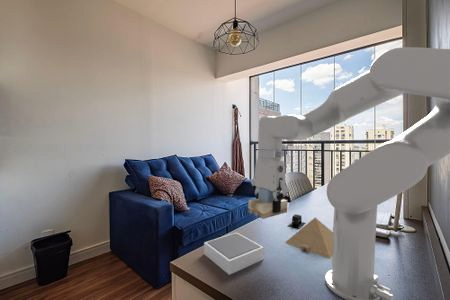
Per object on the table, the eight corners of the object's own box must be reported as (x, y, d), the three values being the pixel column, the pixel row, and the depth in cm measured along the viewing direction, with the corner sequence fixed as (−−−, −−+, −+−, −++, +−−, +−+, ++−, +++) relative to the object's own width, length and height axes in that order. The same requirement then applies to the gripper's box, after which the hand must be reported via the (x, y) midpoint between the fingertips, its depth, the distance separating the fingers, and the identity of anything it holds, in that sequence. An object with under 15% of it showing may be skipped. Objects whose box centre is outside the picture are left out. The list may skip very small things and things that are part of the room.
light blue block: (278, 200, 72) (278, 188, 72) (267, 203, 69) (267, 190, 69) (269, 197, 75) (269, 186, 75) (258, 200, 72) (258, 188, 72)
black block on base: (299, 232, 93) (299, 221, 93) (283, 227, 98) (283, 217, 98) (309, 223, 103) (309, 214, 103) (293, 220, 107) (294, 210, 107)
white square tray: (263, 259, 71) (263, 246, 71) (229, 274, 63) (229, 260, 63) (236, 242, 83) (236, 231, 82) (204, 254, 74) (204, 241, 74)
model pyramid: (282, 244, 82) (283, 218, 82) (302, 230, 95) (302, 207, 94) (330, 261, 71) (330, 231, 71) (344, 242, 84) (345, 217, 83)
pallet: (287, 212, 73) (287, 200, 73) (263, 218, 67) (263, 205, 66) (271, 206, 78) (272, 195, 78) (248, 212, 72) (248, 200, 72)
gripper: (299, 157, 66) (297, 215, 67) (259, 152, 80) (257, 200, 82) (282, 158, 62) (280, 219, 63) (243, 153, 76) (242, 203, 77)
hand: (267, 208), depth 72 cm, fingers closed on pallet, 6 cm apart
